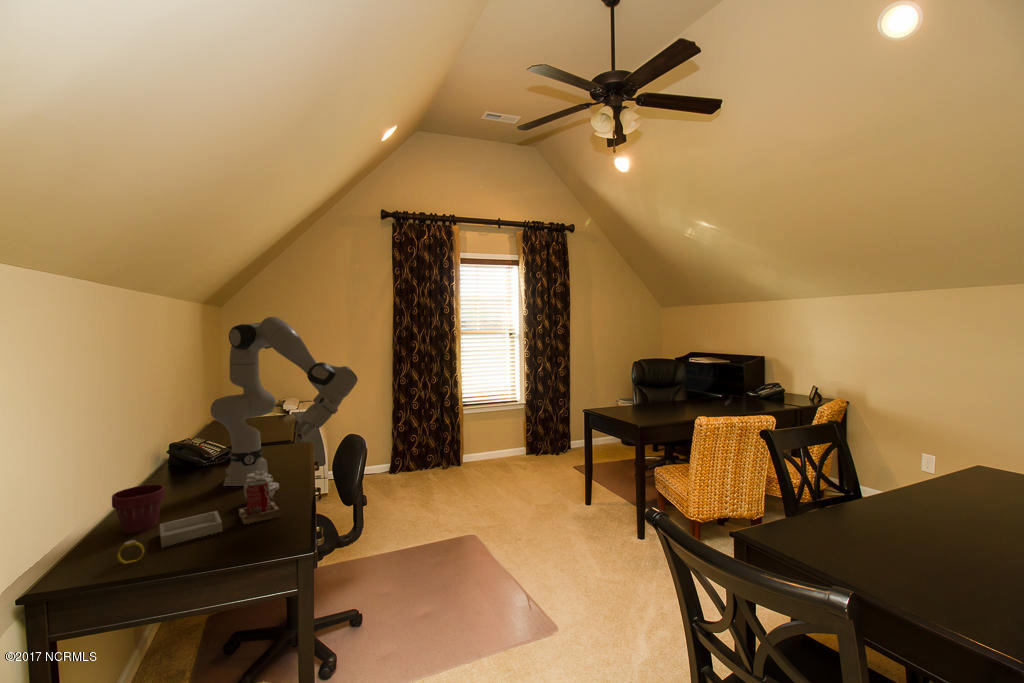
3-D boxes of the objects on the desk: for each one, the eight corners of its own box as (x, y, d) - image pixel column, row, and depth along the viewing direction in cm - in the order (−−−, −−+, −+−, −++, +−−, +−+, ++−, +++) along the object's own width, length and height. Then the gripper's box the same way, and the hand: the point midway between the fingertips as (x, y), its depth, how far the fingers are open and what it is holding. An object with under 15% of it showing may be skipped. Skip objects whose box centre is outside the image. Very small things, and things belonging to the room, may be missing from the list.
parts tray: (160, 534, 153) (159, 524, 153) (217, 520, 163) (217, 510, 163) (161, 548, 143) (160, 536, 142) (222, 532, 152) (221, 521, 152)
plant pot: (174, 523, 162) (172, 486, 161) (125, 540, 149) (123, 500, 149) (154, 516, 169) (152, 481, 168) (105, 532, 156) (103, 494, 156)
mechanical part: (285, 498, 183) (283, 468, 183) (254, 508, 173) (252, 476, 173) (269, 493, 189) (268, 464, 189) (239, 503, 179) (237, 472, 179)
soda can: (267, 510, 170) (265, 478, 170) (273, 515, 165) (271, 482, 165) (245, 516, 165) (243, 483, 165) (251, 521, 160) (249, 487, 160)
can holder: (239, 515, 166) (238, 509, 166) (273, 507, 173) (272, 501, 173) (244, 525, 158) (244, 518, 158) (279, 516, 164) (279, 509, 164)
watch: (117, 567, 132) (114, 547, 131) (120, 563, 134) (117, 543, 134) (143, 560, 134) (140, 540, 134) (146, 556, 137) (143, 537, 137)
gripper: (312, 397, 187) (287, 425, 181) (325, 400, 170) (298, 432, 164) (324, 406, 189) (300, 435, 184) (339, 411, 173) (313, 442, 167)
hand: (299, 433), depth 174 cm, fingers open, 8 cm apart
